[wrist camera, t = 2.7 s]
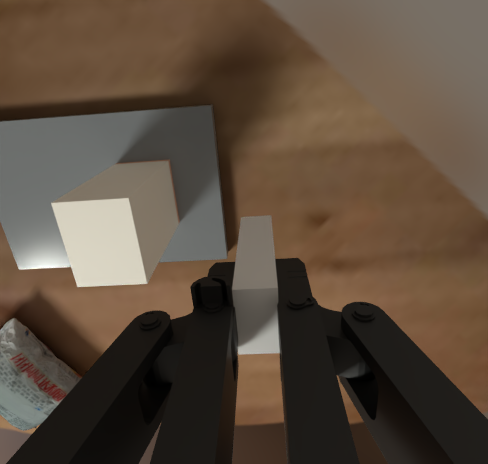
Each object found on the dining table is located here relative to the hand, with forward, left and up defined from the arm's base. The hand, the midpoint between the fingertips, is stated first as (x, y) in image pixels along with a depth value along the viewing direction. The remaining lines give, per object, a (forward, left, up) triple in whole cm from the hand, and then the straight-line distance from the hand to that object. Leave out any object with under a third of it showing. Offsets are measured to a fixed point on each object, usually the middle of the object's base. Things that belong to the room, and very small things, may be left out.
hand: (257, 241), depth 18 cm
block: (-6, -6, -9) cm, 12 cm away
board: (-8, -8, -11) cm, 16 cm away
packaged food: (-4, -29, -11) cm, 31 cm away
